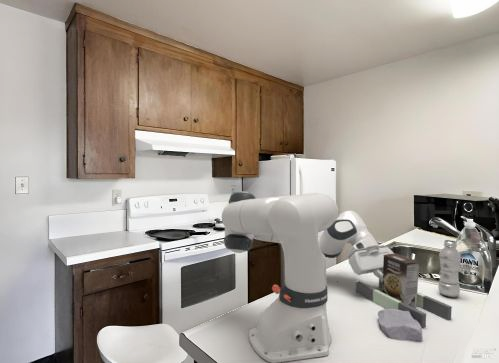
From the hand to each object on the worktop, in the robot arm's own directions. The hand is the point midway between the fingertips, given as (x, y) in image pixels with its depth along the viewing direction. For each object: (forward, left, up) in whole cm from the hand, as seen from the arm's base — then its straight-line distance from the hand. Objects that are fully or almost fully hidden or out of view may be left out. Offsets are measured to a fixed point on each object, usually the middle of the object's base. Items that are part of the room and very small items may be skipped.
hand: (386, 281), depth 100 cm
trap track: (0, -5, -6) cm, 8 cm away
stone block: (-14, -15, -6) cm, 21 cm away
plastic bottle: (+23, -7, -6) cm, 25 cm away
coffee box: (0, -5, -6) cm, 8 cm away
